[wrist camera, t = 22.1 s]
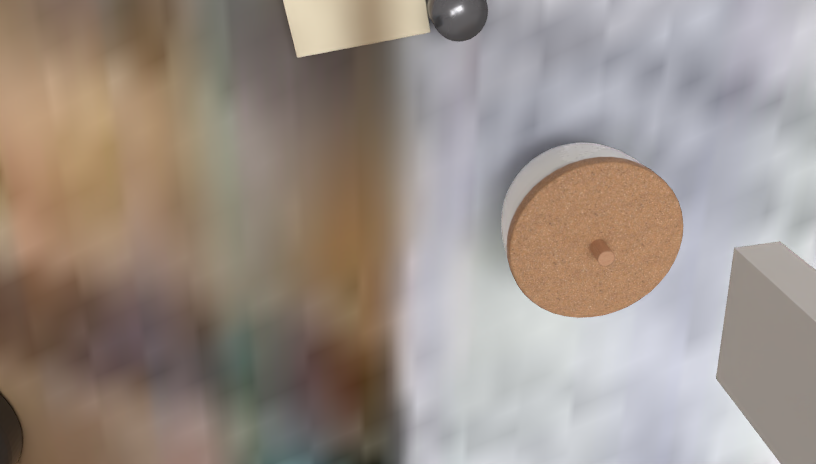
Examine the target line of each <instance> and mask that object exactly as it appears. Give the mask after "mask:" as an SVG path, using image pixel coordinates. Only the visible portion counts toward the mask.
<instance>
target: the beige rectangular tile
mask: <svg viewBox="0 0 816 464" xmlns="http://www.w3.org/2000/svg"><path fill="white" fill-rule="evenodd" d="M283 2H284V6H285V10H286V14H287V18H288V22H289V26H290V30H291V34H292V38H293V42H294V46H295V50H296V54H297V58H298V57H304V56H309V55H314V54H319V53H325V52H330V51H335V50H340V49H346V48H351V47H356V46H361V45H367V44H372V43H377V42H382V41H388V40H393V39H398V38H403V37H409V36H414V35H419V34H425V33H430V27H429V21H428V14H427V7H426V1H425V0H283Z"/></svg>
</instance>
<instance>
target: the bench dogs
mask: <svg viewBox="0 0 816 464" xmlns="http://www.w3.org/2000/svg"><path fill="white" fill-rule="evenodd" d="M425 1H426V7H427V14H428V16H429V18H430V19H431V21H432V22H433V24H434V25H435V27H436V29H437V30H438V31H439V33H440V34H441V35H442V36H444V37H445V38H447V39H449V40H452V41H466V40H469V39H471V38H473V37H474V36H476V35H477V34H478V33H479V32H480V31H481V30H482V28H483V26H484V25H485V22H486V19H487V14H488V8H487V3H486V0H425Z"/></svg>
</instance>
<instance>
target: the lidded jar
mask: <svg viewBox="0 0 816 464" xmlns="http://www.w3.org/2000/svg"><path fill="white" fill-rule="evenodd" d="M501 230H502V239H503V244H504V248H505V251H506V255H507V258H508V262H509V266H510V270H511V272H512V274H513V277H514V279H515V281H516V283H517V285H518V286H519V288H520V289H521V290H522V292H523V293H524V294H525V295H526V296H527V297H528V298H529V299H530V300H531V301H532V302H533V303H535V304H536V305H538V306H540V307H541V308H543V309H545V310H547V311H550V312H552V313H555V314H559V315H563V316H569V317H578V318H579V317H594V316H601V315H606V314H609V313H612V312H616V311H618V310H621V309H623V308H625V307H628V306H630V305H631V304H633V303H635V302H636V301H638V300H640V299H641V298H642V297H644V296H645V295H647V294H648V293H649V292H651V291H652V290H653V289H654V288H655V287H656V286H657V285H658V284H659V283H660V281H661V280H662V279H663V278H664V277H665V275H666V274H667V273H668V271H669V270H670V268H671V266H672V264H673V263H674V261H675V259H676V256H677V254H678V251H679V249H680V245H681V241H682V236H683V217H682V211H681V208H680V205H679V201H678V199H677V198H676V196H675V194H674V192H673V190H672V189H671V188H670V187H669V186H668V184H667V183H666V182H665V181H664V180H663V179H662V178H661V177H659V176H658V175H657V174H656V173H654V172H653V171H652V170H651V169H649V168H647V167H645V166H644V165H642V164H641V163H640V162H639V161H637V160H636V159H634V158H633V157H631V156H629V155H627V154H625V153H623V152H621V151H620V150H617V149H614V148H611V147H608V146H605V145H601V144H595V143H572V144H565V145H561V146H558V147H555V148H552V149H550V150H547V151H545V152H543V153H541V154H540V155H538V156H537V157H535V158H534V159H532V160H531V161H530V162H529V163H528V164H526V165H525V166H524V167H523V168H522V170H521V171H520V172H519V173H518V174H517V176H516V177H515V179H514V180H513V182H512V183H511V185H510V187H509V190H508V192H507V194H506V196H505V199H504V203H503V207H502V217H501Z"/></svg>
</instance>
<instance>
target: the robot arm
mask: <svg viewBox="0 0 816 464" xmlns="http://www.w3.org/2000/svg"><path fill="white" fill-rule="evenodd" d="M716 379H717V380H718V382H719V383H720V384H721V386H722V387H723V388H724V390H725V391H726V392H727V394H728V395H729V396H730V397H731V399H732V400H733V401H734V403H735V404H736V405H737V407H738V408H739V409H740V411H741V412H742V413H743V415H744V416H745V417H746V419H747V420H748V421H749V422H750V424H751V425H752V426H753V428H754V429H755V430H756V432H757V433H758V434H759V436H760V437H761V438H762V440H763V441H764V442H765V444H766V445H767V446H768V447H769V449H770V450H771V451H772V453H773V454H774V455H775V457H776V458H777V459H778V461H779V462H780V463H781V464H816V270H815V269H814V268H813V267H811V266H810V265H809V264H808V263H806V262H805V261H804V260H803V259H801V258H800V257H799V256H798V255H796V254H795V253H794V252H793V251H791V250H790V249H789V248H788V247H786V246H785V245H784V244H783V243H781V242H773V243H765V244H758V245H751V246H743V247H736V248H734V254H733V261H732V268H731V275H730V282H729V289H728V296H727V304H726V311H725V318H724V325H723V332H722V339H721V346H720V353H719V360H718V368H717V375H716ZM21 450H22V432H21V428H20V424H19V421H18V419H17V417H16V415H15V413H14V411H13V410H12V408H11V407H10V405H9V404H8V403H7V401H6V400H5V399H4V398H3V397H2V396H1V395H0V464H16V463H17V462H18V459H19V457H20V454H21Z"/></svg>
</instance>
